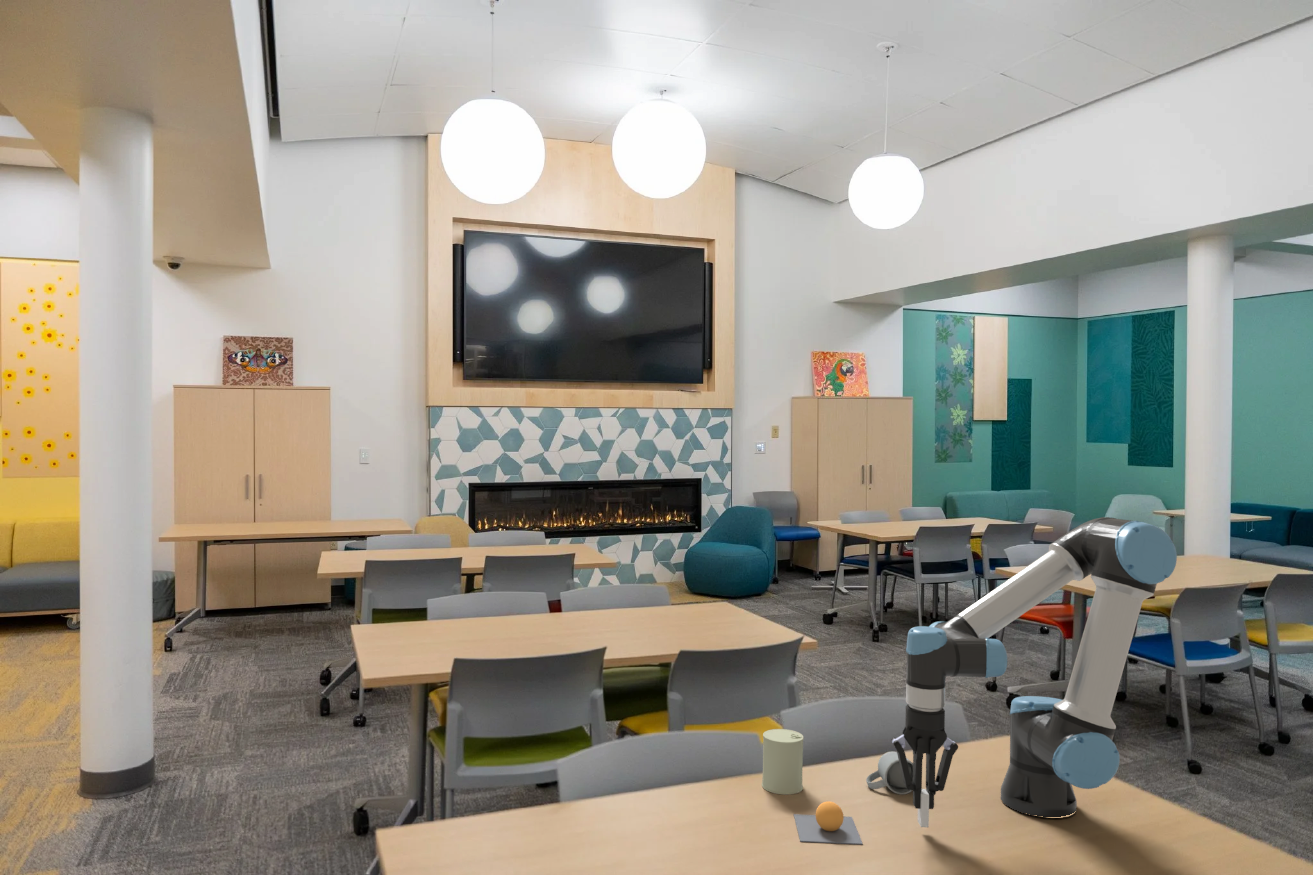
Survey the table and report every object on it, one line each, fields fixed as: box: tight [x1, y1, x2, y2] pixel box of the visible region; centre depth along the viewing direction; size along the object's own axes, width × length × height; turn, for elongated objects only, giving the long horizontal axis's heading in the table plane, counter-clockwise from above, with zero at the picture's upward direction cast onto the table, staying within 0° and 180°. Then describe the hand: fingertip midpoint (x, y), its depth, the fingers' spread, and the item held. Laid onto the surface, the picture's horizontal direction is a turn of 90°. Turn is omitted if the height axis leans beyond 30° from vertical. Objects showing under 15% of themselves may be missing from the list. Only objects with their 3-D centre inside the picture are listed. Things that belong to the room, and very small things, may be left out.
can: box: [761, 728, 805, 796], centre depth 193 cm, size 9×9×12 cm
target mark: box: [793, 813, 863, 845], centre depth 172 cm, size 12×12×1 cm
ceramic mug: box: [865, 751, 913, 795], centre depth 194 cm, size 11×8×8 cm
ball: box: [815, 800, 844, 831], centre depth 172 cm, size 6×6×6 cm
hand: (923, 824), depth 171 cm, fingers closed
